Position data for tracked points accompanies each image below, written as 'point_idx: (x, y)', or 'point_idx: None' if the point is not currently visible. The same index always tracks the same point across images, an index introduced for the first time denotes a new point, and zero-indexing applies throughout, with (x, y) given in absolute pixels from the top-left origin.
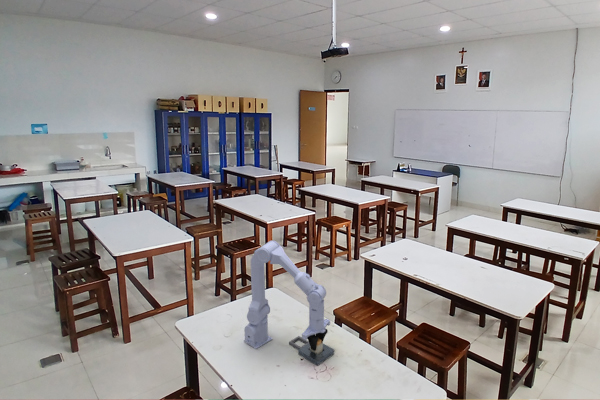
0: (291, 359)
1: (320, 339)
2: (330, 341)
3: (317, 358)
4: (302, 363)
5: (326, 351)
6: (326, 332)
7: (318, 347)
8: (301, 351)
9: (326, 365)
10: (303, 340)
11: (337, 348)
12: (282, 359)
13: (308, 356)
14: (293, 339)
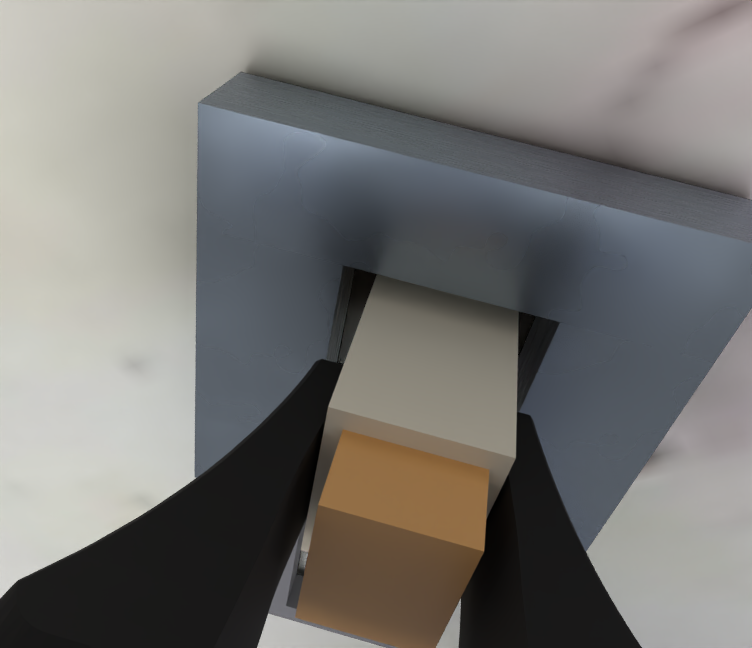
0: (698, 547)
1: (327, 522)
2: (22, 266)
3: (689, 285)
4: (746, 421)
5: (365, 216)
6: (81, 627)
7: (486, 417)
8: (586, 546)
9: (662, 38)
10: (295, 555)
11: (63, 87)
12: (735, 616)
13: (657, 431)
14: (357, 636)
